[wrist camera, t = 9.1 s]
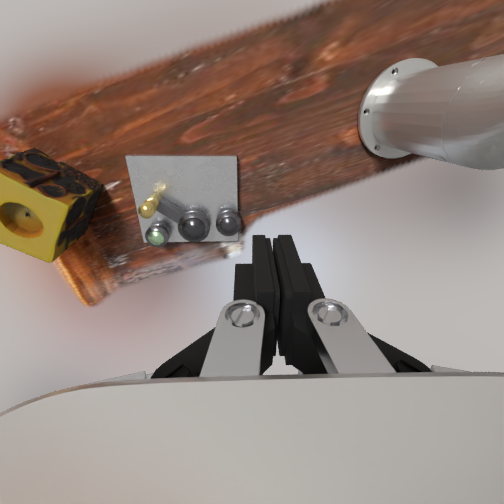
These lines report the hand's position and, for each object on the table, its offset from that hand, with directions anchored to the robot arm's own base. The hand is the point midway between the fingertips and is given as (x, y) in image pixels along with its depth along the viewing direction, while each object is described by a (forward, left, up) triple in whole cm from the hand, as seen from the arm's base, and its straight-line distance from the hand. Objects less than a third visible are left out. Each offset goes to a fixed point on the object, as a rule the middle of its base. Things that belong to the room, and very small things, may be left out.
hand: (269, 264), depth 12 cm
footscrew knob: (+10, +9, -30) cm, 33 cm away
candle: (+29, +6, -32) cm, 44 cm away
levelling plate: (+9, +7, -32) cm, 34 cm away
